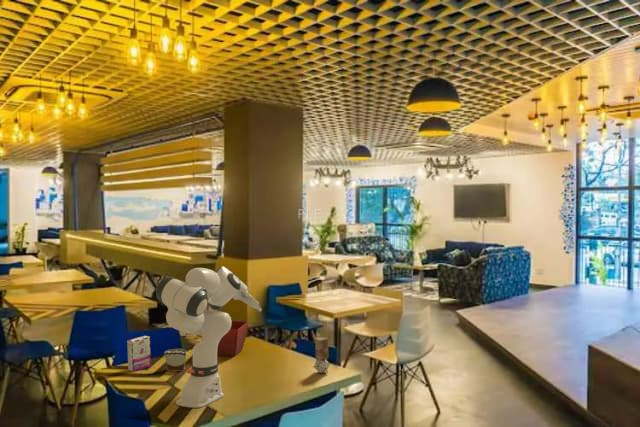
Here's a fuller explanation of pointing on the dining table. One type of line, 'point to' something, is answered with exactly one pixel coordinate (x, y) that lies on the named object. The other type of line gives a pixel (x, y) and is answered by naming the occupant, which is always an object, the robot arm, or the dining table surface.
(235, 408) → the dining table surface
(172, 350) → the food container
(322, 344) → the walnut block
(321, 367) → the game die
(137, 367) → the candy bar box
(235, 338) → the plant pot
